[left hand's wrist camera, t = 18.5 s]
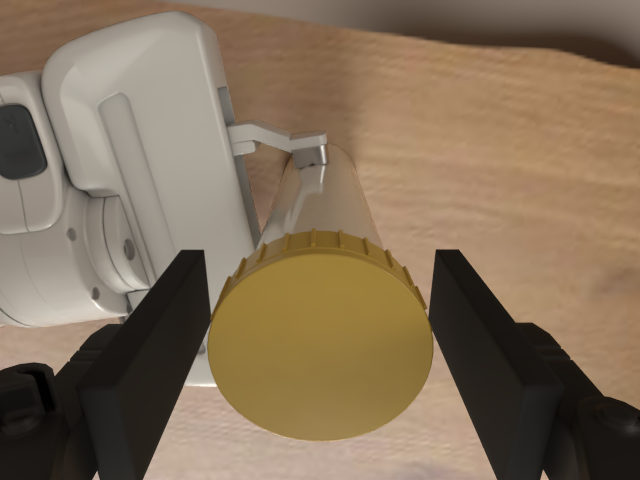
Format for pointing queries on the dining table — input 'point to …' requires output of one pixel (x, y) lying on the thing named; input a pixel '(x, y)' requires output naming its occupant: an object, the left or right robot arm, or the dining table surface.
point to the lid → (320, 337)
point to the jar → (321, 201)
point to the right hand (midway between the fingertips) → (336, 203)
